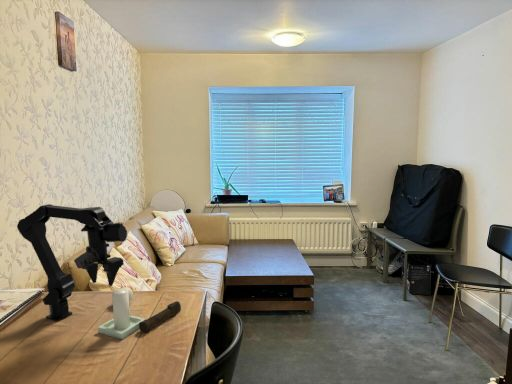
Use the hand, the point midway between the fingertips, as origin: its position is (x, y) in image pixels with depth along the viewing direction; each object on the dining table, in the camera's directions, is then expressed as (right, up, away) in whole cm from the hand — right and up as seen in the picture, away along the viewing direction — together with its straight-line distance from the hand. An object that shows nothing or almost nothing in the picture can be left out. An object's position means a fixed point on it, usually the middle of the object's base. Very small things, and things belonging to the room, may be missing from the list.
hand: (102, 284), depth 127 cm
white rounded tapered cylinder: (+10, -13, -6) cm, 17 cm away
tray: (+10, -14, -6) cm, 18 cm away
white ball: (+2, -12, +14) cm, 18 cm away
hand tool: (+22, -14, -1) cm, 26 cm away
